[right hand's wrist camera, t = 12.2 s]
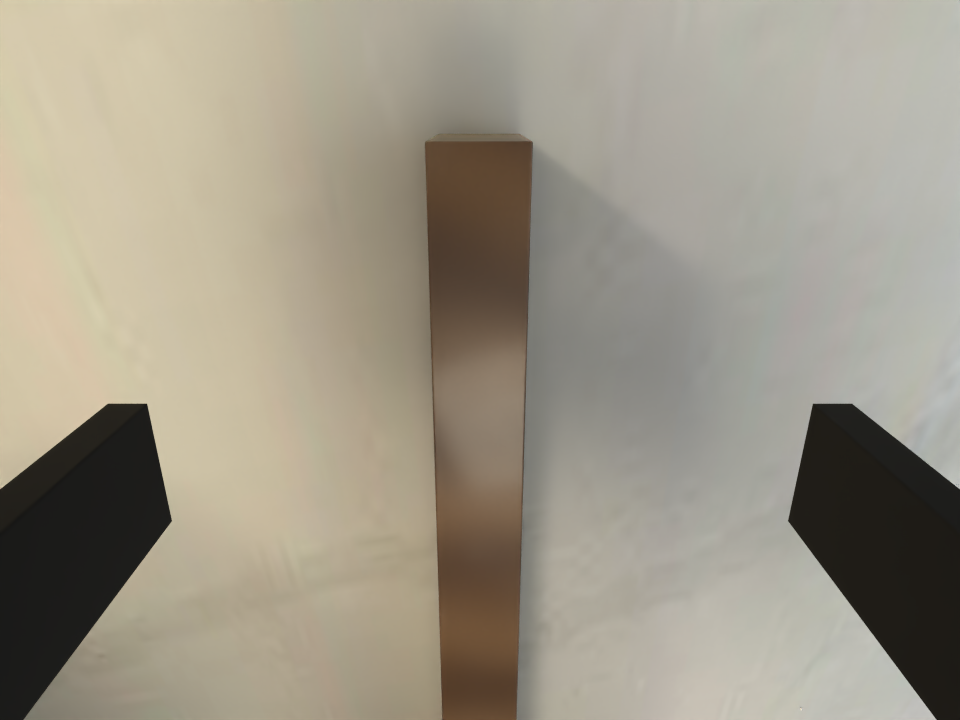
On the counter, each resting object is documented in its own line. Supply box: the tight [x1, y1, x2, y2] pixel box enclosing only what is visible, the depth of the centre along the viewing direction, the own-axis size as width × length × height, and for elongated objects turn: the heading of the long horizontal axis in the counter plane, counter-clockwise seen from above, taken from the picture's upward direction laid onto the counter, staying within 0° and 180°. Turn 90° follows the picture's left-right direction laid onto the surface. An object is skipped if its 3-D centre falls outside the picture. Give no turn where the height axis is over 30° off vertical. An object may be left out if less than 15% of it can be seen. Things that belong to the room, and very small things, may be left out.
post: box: [425, 134, 533, 720], centre depth 42 cm, size 62×5×9 cm, turn 0°
